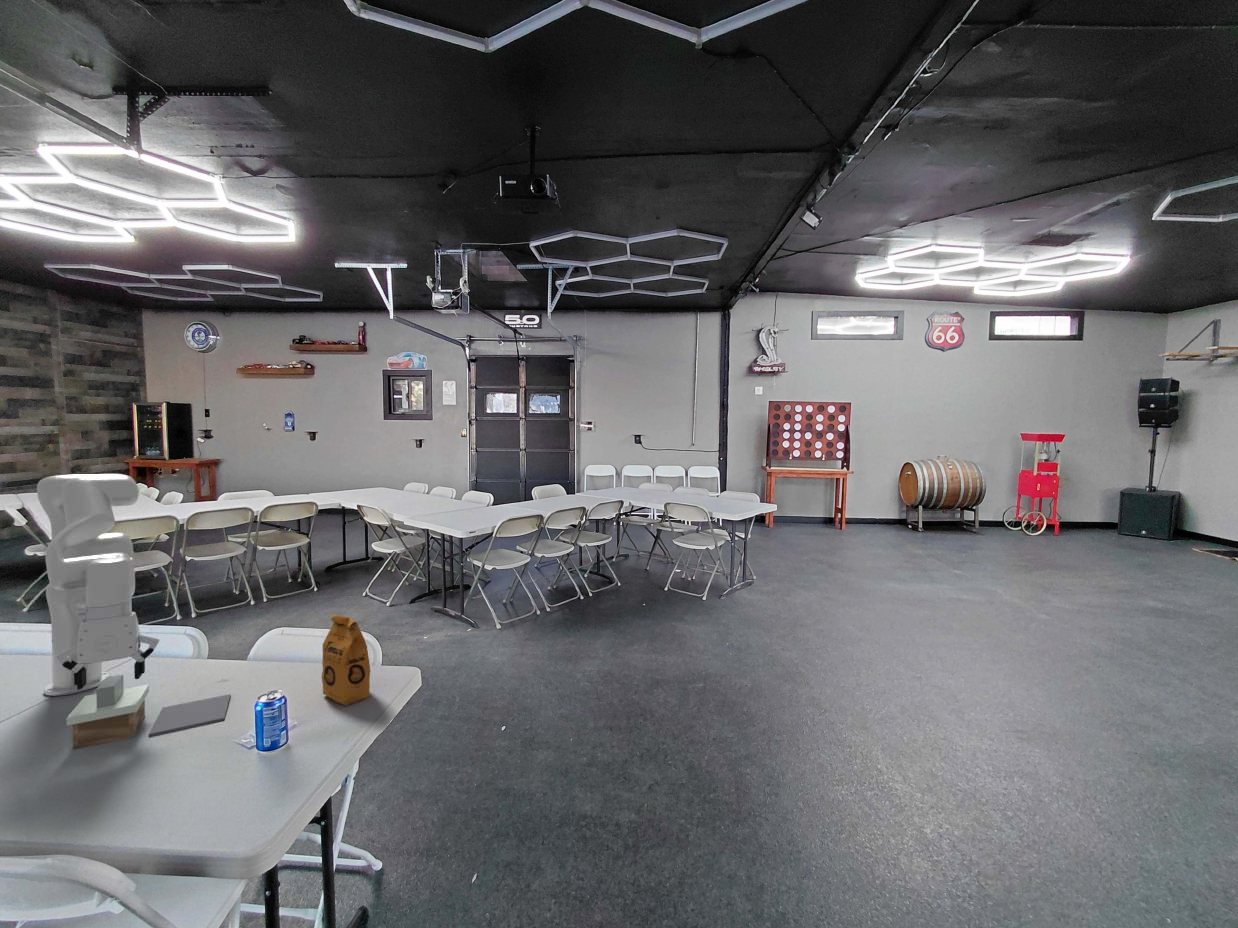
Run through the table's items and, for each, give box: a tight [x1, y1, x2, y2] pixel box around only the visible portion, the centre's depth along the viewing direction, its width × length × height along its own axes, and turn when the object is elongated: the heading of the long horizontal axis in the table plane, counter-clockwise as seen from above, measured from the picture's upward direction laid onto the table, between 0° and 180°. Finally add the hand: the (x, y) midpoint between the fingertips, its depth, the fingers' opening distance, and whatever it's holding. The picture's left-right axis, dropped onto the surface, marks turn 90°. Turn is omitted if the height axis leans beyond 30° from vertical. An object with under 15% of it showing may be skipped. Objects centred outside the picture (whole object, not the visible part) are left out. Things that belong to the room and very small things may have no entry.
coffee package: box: [321, 614, 371, 706], centre depth 137 cm, size 10×12×22 cm
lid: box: [66, 674, 150, 727], centre depth 118 cm, size 11×11×6 cm
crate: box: [72, 698, 146, 750], centre depth 118 cm, size 10×10×7 cm
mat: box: [148, 693, 231, 737], centre depth 127 cm, size 14×14×1 cm
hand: (110, 681), depth 118 cm, fingers open, 9 cm apart
